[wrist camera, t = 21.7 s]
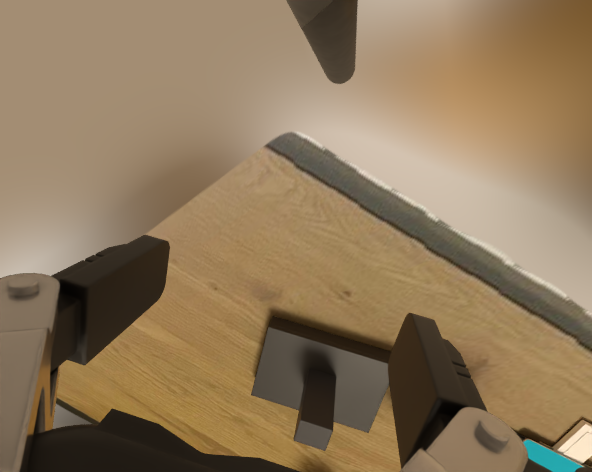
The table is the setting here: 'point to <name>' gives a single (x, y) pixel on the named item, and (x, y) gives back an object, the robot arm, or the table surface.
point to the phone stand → (563, 450)
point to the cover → (321, 379)
